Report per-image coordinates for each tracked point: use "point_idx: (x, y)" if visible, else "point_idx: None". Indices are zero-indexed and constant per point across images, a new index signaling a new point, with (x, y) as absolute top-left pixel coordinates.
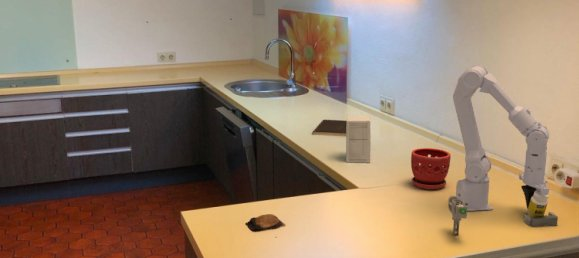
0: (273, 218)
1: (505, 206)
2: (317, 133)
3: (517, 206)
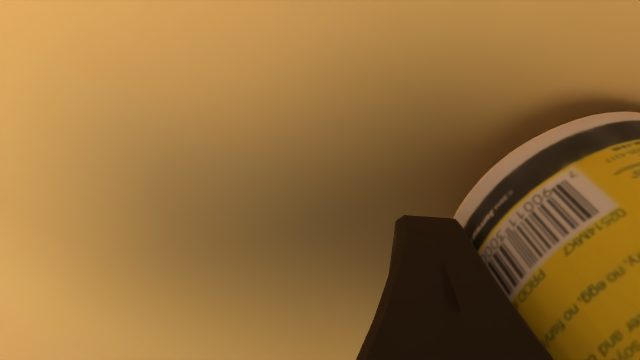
0: None
1: (49, 324)
2: None
3: (29, 193)
